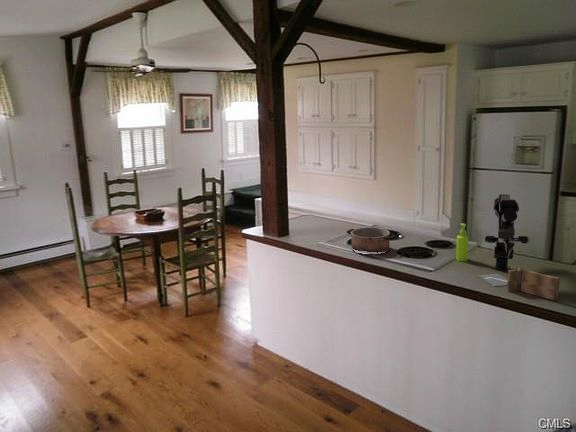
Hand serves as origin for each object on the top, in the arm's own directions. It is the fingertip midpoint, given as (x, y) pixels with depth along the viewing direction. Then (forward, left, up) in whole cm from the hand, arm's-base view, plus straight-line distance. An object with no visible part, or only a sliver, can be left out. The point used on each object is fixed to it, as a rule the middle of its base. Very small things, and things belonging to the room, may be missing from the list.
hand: (506, 257), depth 215 cm
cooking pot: (+4, -78, -12) cm, 79 cm away
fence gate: (+7, +18, -11) cm, 23 cm away
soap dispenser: (-15, -30, -12) cm, 36 cm away
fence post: (+9, +8, -12) cm, 17 cm away
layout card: (+2, -3, -12) cm, 12 cm away
